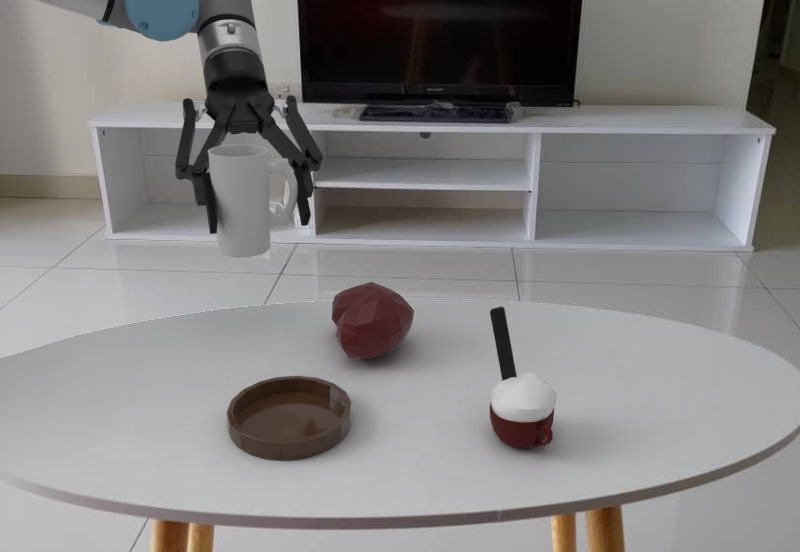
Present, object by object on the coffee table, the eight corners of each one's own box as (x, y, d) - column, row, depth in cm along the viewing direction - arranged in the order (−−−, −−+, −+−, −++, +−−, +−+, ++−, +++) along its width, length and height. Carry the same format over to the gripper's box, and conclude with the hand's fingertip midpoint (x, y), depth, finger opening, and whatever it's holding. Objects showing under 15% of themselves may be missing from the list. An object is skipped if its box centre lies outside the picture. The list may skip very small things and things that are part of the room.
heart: (407, 316, 97) (332, 331, 96) (401, 262, 94) (323, 277, 93) (428, 363, 86) (344, 380, 85) (422, 304, 83) (334, 321, 82)
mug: (213, 259, 87) (206, 157, 82) (216, 240, 93) (209, 144, 88) (301, 256, 88) (298, 156, 84) (298, 237, 94) (295, 142, 90)
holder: (238, 471, 68) (237, 453, 68) (221, 402, 79) (220, 385, 78) (366, 447, 72) (366, 429, 71) (333, 383, 83) (333, 368, 82)
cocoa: (561, 463, 70) (575, 350, 66) (495, 465, 70) (504, 351, 65) (537, 408, 79) (548, 305, 74) (478, 409, 79) (485, 306, 74)
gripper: (136, 48, 87) (157, 217, 80) (325, 46, 94) (361, 201, 87) (140, 87, 94) (159, 247, 86) (316, 83, 101) (348, 230, 93)
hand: (260, 224), depth 86 cm, fingers closed on mug, 10 cm apart
